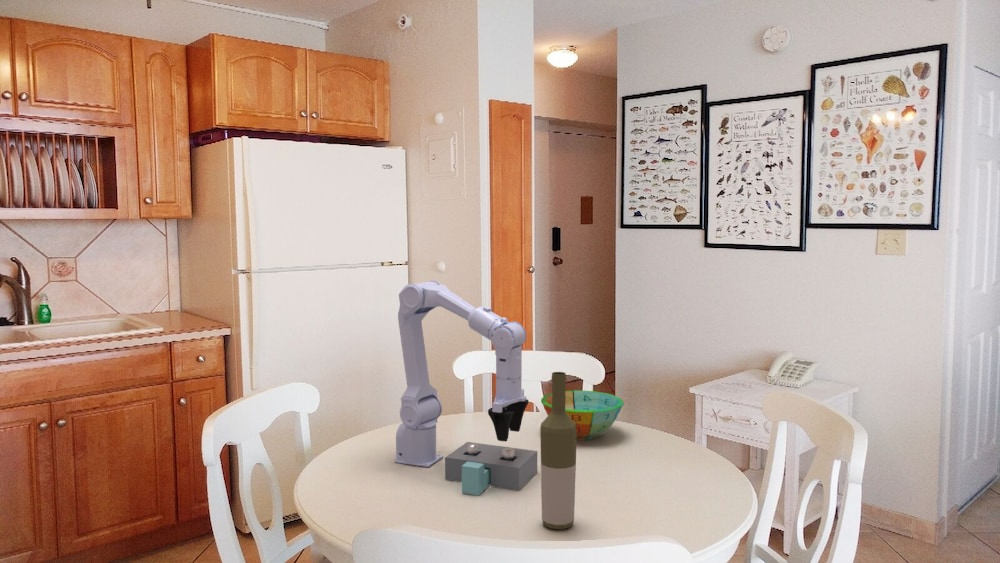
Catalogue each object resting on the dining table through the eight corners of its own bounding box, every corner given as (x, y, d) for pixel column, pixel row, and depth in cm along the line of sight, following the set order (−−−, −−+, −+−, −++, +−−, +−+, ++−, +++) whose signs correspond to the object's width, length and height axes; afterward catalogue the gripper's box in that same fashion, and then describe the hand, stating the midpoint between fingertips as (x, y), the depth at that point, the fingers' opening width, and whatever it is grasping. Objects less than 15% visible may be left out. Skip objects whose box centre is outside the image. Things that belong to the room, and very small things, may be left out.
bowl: (629, 449, 183) (630, 411, 183) (542, 449, 184) (542, 411, 183) (616, 424, 206) (617, 390, 205) (539, 423, 206) (539, 389, 205)
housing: (445, 479, 163) (445, 457, 162) (467, 462, 174) (467, 441, 173) (519, 490, 156) (519, 467, 155) (537, 472, 167) (537, 451, 166)
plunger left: (464, 456, 164) (464, 445, 164) (469, 452, 167) (469, 442, 167) (475, 458, 163) (475, 447, 163) (480, 454, 166) (480, 443, 166)
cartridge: (461, 492, 154) (461, 465, 154) (489, 469, 168) (489, 445, 168) (478, 495, 153) (478, 468, 152) (504, 472, 167) (504, 447, 166)
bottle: (542, 515, 143) (543, 368, 140) (577, 518, 142) (579, 370, 139) (537, 530, 136) (537, 376, 133) (573, 534, 135) (575, 378, 132)
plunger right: (500, 461, 161) (500, 450, 161) (505, 457, 164) (505, 446, 163) (511, 463, 160) (511, 452, 160) (516, 459, 162) (516, 448, 162)
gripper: (513, 385, 152) (513, 447, 153) (536, 371, 165) (536, 428, 166) (483, 382, 154) (483, 443, 156) (508, 369, 168) (507, 425, 169)
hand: (508, 435), depth 161 cm, fingers open, 7 cm apart
